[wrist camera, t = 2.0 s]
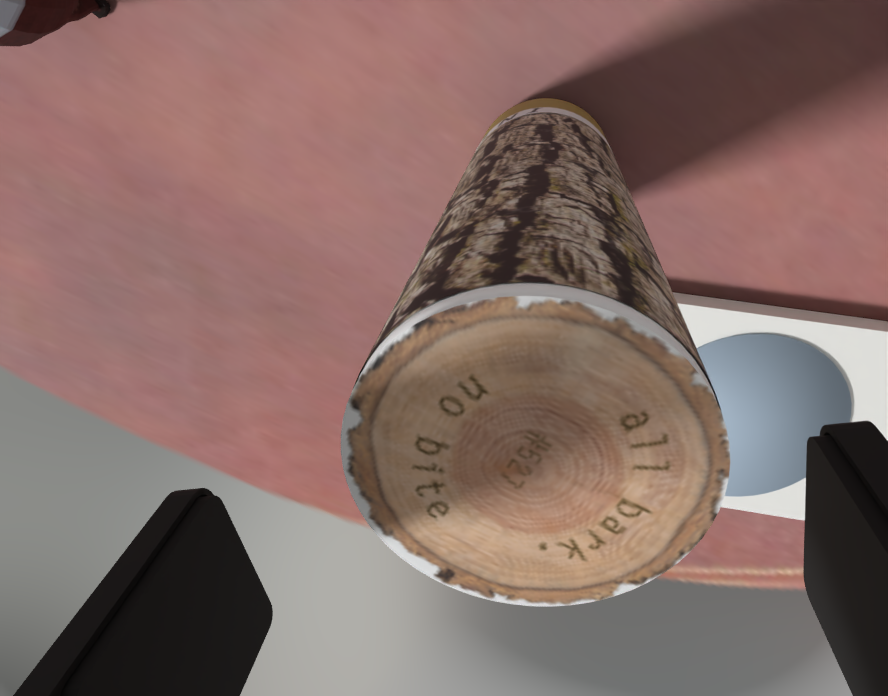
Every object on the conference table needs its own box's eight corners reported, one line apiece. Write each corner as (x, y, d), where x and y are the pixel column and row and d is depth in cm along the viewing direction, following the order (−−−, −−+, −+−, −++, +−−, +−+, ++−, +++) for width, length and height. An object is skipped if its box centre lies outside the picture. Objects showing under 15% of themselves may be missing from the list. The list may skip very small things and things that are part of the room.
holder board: (967, 332, 34) (986, 347, 32) (868, 515, 40) (880, 534, 39) (588, 280, 36) (589, 292, 34) (549, 464, 42) (549, 481, 40)
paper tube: (636, 135, 32) (826, 418, 10) (565, 250, 35) (590, 653, 13) (516, 70, 31) (435, 216, 9) (455, 193, 34) (289, 514, 13)
